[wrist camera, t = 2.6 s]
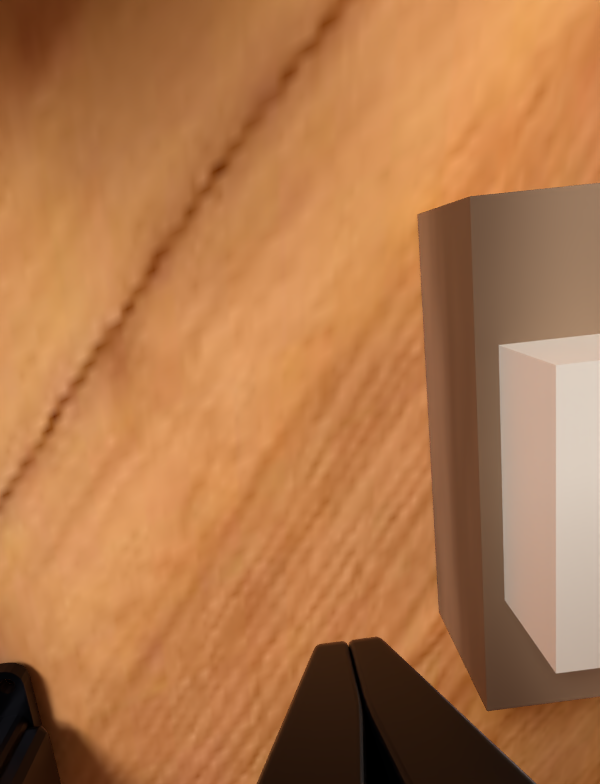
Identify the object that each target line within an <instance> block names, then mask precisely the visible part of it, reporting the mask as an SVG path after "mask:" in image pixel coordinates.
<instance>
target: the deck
mask: <svg viewBox="0 0 600 784" xmlns="http://www.w3.org/2000/svg"><path fill="white" fill-rule="evenodd" d="M418 231H419V250H420V269H421V287H422V306H423V324H424V343H425V361H426V380H427V399H428V417H429V436H430V454H431V473H432V491H433V510H434V528H435V547H436V566H437V584H438V603H439V613H440V615H441V617H442V619H443V621H444V623H445V625H446V627H447V630H448V632H449V634H450V636H451V638H452V640H453V642H454V644H455V646H456V648H457V650H458V652H459V654H460V656H461V658H462V660H463V662H464V665H465V667H466V669H467V671H468V673H469V675H470V677H471V679H472V681H473V683H474V685H475V687H476V689H477V691H478V693H479V695H480V698H481V700H482V702H483V704H484V706H485V708H486V710H487V711H492V710H499V709H507V708H515V707H522V706H530V705H538V704H546V703H553V702H561V701H569V700H576V699H584V698H592V697H599V696H600V668H595V669H587V670H579V671H572V672H564V673H555V671H554V670H553V668H552V667H551V666H550V664H549V663H548V661H547V660H546V658H545V657H544V656H543V654H542V653H541V651H540V650H539V648H538V647H537V646H536V644H535V643H534V641H533V640H532V638H531V637H530V636H529V634H528V633H527V631H526V630H525V628H524V627H523V625H522V624H521V623H520V621H519V620H518V618H517V617H516V615H515V614H514V613H513V611H512V610H511V608H510V607H509V605H508V604H507V603H506V601H505V593H504V550H503V508H502V465H501V423H500V380H499V345H503V344H512V343H521V342H530V341H539V340H548V339H557V338H566V337H575V336H584V335H593V334H600V183H594V184H585V185H575V186H566V187H556V188H547V189H537V190H527V191H518V192H508V193H499V194H489V195H480V196H470V197H467V198H464V199H461V200H458V201H455V202H452V203H450V204H447V205H444V206H441V207H438V208H435V209H432V210H429V211H426V212H423V213H420V214H418Z"/></svg>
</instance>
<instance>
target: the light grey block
mask: <svg viewBox="0 0 600 784" xmlns="http://www.w3.org/2000/svg"><path fill="white" fill-rule="evenodd" d="M499 380H500V423H501V465H502V508H503V550H504V593H505V601H506V603H507V604H508V605H509V607H510V608H511V610H512V611H513V613H514V614H515V615H516V617H517V618H518V620H519V621H520V623H521V624H522V625H523V627H524V628H525V630H526V631H527V633H528V634H529V636H530V637H531V638H532V640H533V641H534V643H535V644H536V646H537V647H538V648H539V650H540V651H541V653H542V654H543V656H544V657H545V658H546V660H547V661H548V663H549V664H550V666H551V667H552V668H553V670H554V671H555V673H564V672H572V671H579V670H587V669H595V668H600V334H593V335H584V336H575V337H566V338H557V339H548V340H539V341H530V342H521V343H512V344H503V345H499Z"/></svg>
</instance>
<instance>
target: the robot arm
mask: <svg viewBox="0 0 600 784" xmlns="http://www.w3.org/2000/svg"><path fill="white" fill-rule="evenodd" d="M5 679H10V680H11V681H13V682H14V683H15V684H10V683H8V682H7V681H6V680H5ZM0 784H61V783H60V779H59V775H58V771H57V766H56V762H55V758H54V754H53V750H52V746H51V742H50V738H49V734H48V732H47V731H46V730H45V728H44V727H43V726H42V723H41V719H40V715H39V711H38V707H37V703H36V699H35V695H34V691H33V687H32V683H31V679H30V675H29V673H28V671H27V669H26V668H24V667H23V666H22V665H20V664H17V663H3V664H0ZM257 784H536V783H535V782H534V781H533V780H532V779H531V778H530V777H529V776H528V775H526V774H525V773H524V772H523V771H522V770H521V769H520V768H519V767H518V766H517V765H516V764H515V763H514V762H513V761H512V760H510V759H509V758H508V757H507V756H506V755H505V754H504V753H503V752H502V751H501V750H500V749H499V748H498V747H497V746H496V745H494V744H493V743H492V742H491V741H490V740H489V739H488V738H487V737H486V736H485V735H484V734H483V733H482V732H481V731H480V730H478V729H477V728H476V727H475V726H474V725H473V724H472V723H471V722H470V721H469V720H468V719H467V718H466V717H465V716H464V715H462V714H461V713H460V712H459V711H458V710H457V709H456V708H455V707H454V706H453V705H452V704H451V703H450V702H449V701H447V700H446V699H445V698H444V697H443V696H442V695H441V694H440V693H439V692H438V691H437V690H436V689H435V688H434V687H433V686H431V685H430V684H429V683H428V682H427V681H426V680H425V679H424V678H423V677H422V676H421V675H420V674H419V673H418V672H417V671H415V670H414V669H413V668H412V667H411V666H410V665H409V664H408V663H407V662H406V661H405V660H404V659H403V658H402V657H401V656H399V655H398V654H397V653H396V652H395V651H394V650H393V649H392V648H391V647H390V646H389V645H388V644H387V643H386V642H385V641H383V640H382V639H381V638H379V637H371V638H364V639H356V640H352V641H351V642H350V643H349V647H348V645H347V643H346V642H344V641H340V642H332V643H325V644H319V645H317V646H316V647H315V649H314V651H313V653H312V655H311V658H310V660H309V662H308V665H307V667H306V669H305V672H304V674H303V676H302V679H301V681H300V683H299V686H298V688H297V690H296V693H295V695H294V697H293V700H292V702H291V704H290V707H289V709H288V711H287V714H286V716H285V719H284V721H283V723H282V726H281V728H280V730H279V733H278V735H277V737H276V740H275V742H274V744H273V747H272V749H271V751H270V754H269V756H268V758H267V761H266V763H265V765H264V768H263V770H262V772H261V775H260V777H259V780H258V782H257Z"/></svg>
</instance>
